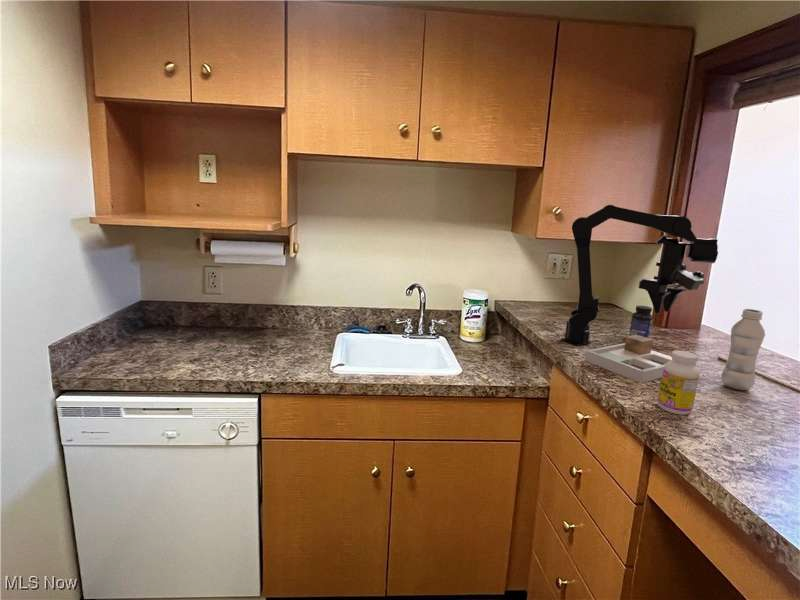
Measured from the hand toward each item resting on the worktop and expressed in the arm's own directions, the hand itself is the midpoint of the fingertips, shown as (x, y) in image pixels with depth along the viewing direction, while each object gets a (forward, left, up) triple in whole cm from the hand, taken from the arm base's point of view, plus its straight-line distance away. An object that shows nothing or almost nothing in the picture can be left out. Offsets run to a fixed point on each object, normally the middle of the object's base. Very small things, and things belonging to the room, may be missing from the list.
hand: (662, 312), depth 132 cm
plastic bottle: (+24, -6, -13) cm, 28 cm away
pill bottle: (-12, +10, -13) cm, 20 cm away
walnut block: (0, -9, -11) cm, 14 cm away
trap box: (+4, -15, -13) cm, 20 cm away
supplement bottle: (+24, -33, -13) cm, 43 cm away
